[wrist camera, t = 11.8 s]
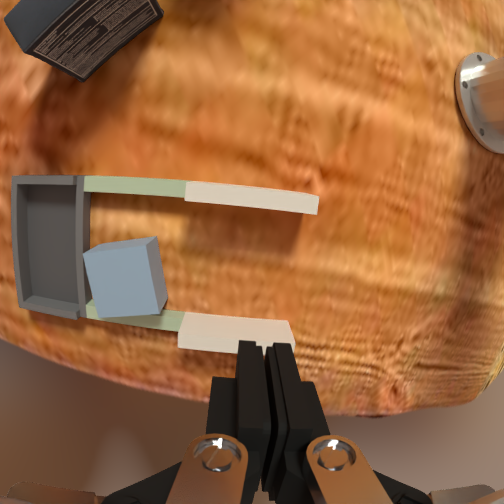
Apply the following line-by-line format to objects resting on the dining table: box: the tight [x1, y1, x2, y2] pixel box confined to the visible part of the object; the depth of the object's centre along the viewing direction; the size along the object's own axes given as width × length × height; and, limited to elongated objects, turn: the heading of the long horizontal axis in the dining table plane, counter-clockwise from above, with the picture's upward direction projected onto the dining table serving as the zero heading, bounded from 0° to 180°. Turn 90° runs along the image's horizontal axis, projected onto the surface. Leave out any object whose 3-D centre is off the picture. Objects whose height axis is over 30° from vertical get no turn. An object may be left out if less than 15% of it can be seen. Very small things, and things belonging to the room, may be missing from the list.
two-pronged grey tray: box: [11, 175, 319, 355], centre depth 26 cm, size 29×14×4 cm, turn 84°
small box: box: [4, 0, 164, 82], centre depth 18 cm, size 11×6×10 cm, turn 129°
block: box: [83, 236, 168, 318], centre depth 27 cm, size 6×6×4 cm
